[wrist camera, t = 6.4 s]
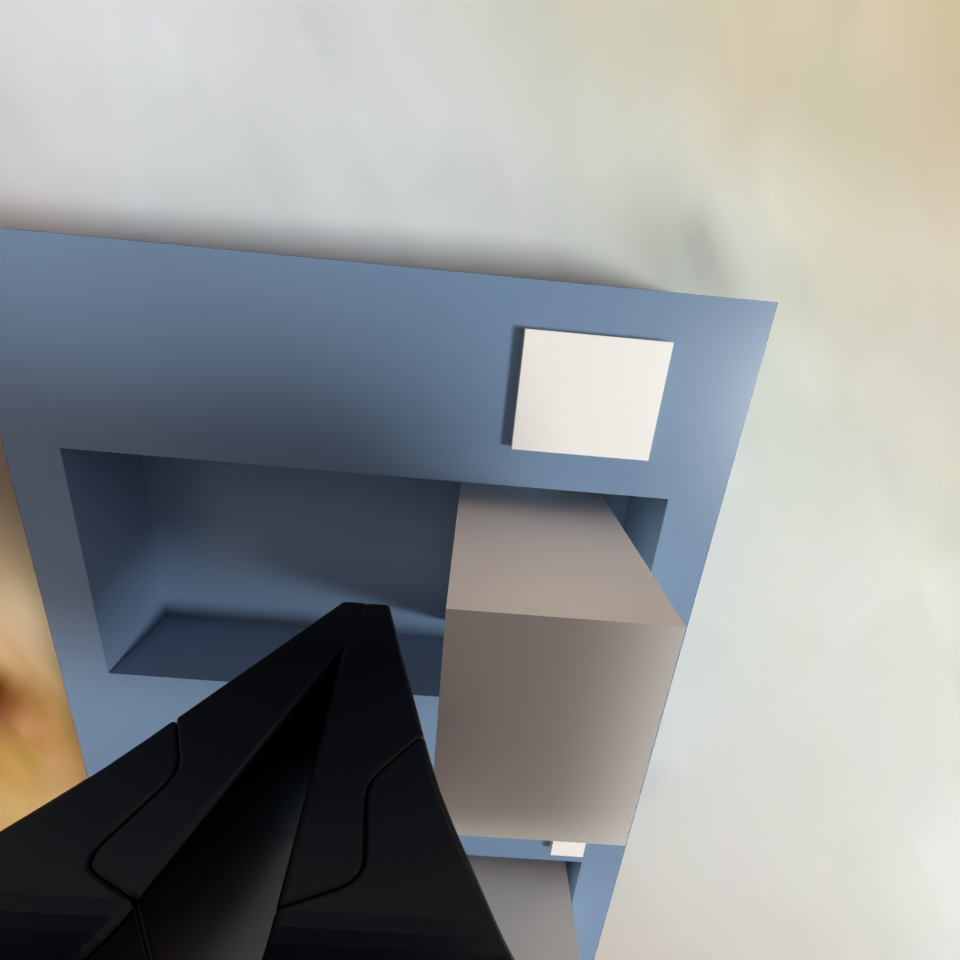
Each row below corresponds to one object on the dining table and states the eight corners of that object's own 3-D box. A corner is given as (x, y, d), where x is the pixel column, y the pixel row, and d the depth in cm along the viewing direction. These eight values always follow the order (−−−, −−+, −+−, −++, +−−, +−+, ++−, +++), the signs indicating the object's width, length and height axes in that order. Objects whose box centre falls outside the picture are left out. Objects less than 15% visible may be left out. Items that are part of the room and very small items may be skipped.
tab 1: (449, 626, 12) (428, 833, 7) (461, 475, 11) (445, 608, 6) (568, 634, 12) (624, 845, 7) (595, 486, 11) (686, 627, 6)
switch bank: (203, 908, 18) (146, 1032, 15) (94, 246, 10) (-69, 220, 7) (556, 928, 18) (571, 1054, 15) (698, 303, 10) (785, 302, 7)
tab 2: (445, 888, 15) (430, 1146, 11) (454, 799, 14) (441, 1049, 9) (539, 894, 15) (564, 1152, 11) (557, 806, 14) (594, 1056, 9)
